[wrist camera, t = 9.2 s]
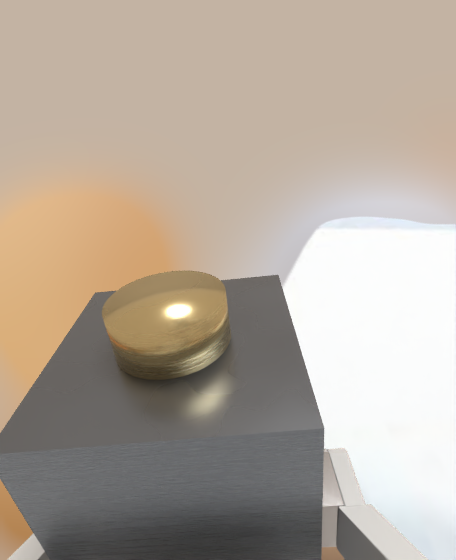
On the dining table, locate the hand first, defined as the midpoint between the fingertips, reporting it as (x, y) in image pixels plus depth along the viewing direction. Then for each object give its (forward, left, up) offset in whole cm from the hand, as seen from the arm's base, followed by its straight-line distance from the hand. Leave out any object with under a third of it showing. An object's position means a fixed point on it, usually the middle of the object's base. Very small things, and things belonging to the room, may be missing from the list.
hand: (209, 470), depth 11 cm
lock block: (+1, +1, -6) cm, 7 cm away
